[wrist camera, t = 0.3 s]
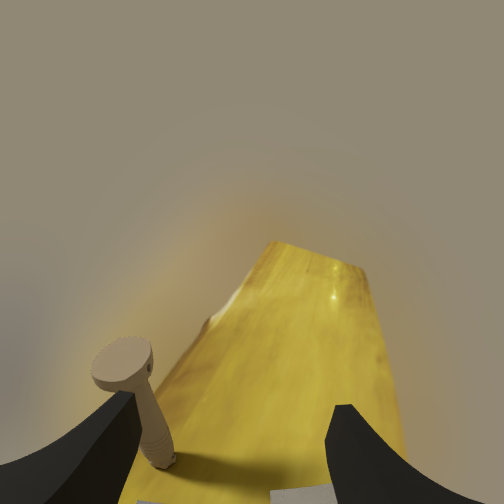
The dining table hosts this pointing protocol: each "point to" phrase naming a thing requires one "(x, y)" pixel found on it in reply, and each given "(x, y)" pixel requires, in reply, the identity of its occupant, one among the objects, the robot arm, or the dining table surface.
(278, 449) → the dining table surface
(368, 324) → the dining table surface
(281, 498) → the white wooden block
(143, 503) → the slotted grey plate
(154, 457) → the handle
